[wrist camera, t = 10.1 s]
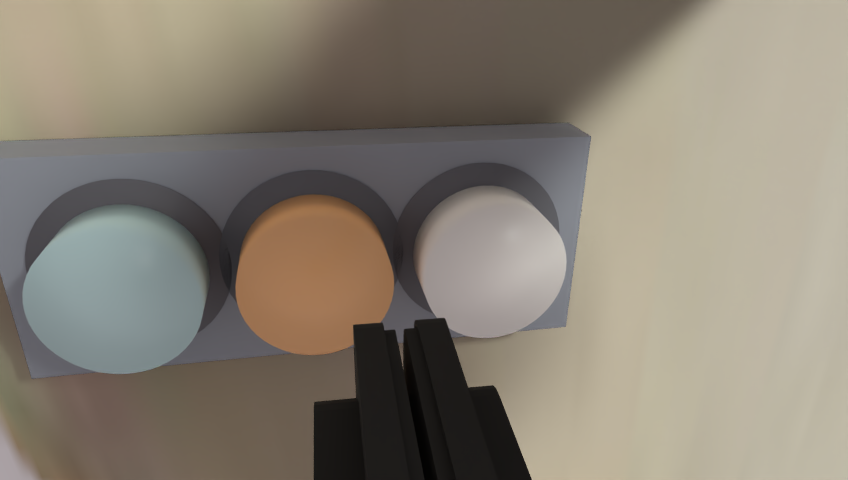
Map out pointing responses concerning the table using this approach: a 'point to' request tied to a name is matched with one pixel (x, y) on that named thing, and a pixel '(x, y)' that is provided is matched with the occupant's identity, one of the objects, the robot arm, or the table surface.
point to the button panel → (270, 184)
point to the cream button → (488, 261)
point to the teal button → (118, 290)
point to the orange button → (313, 274)
